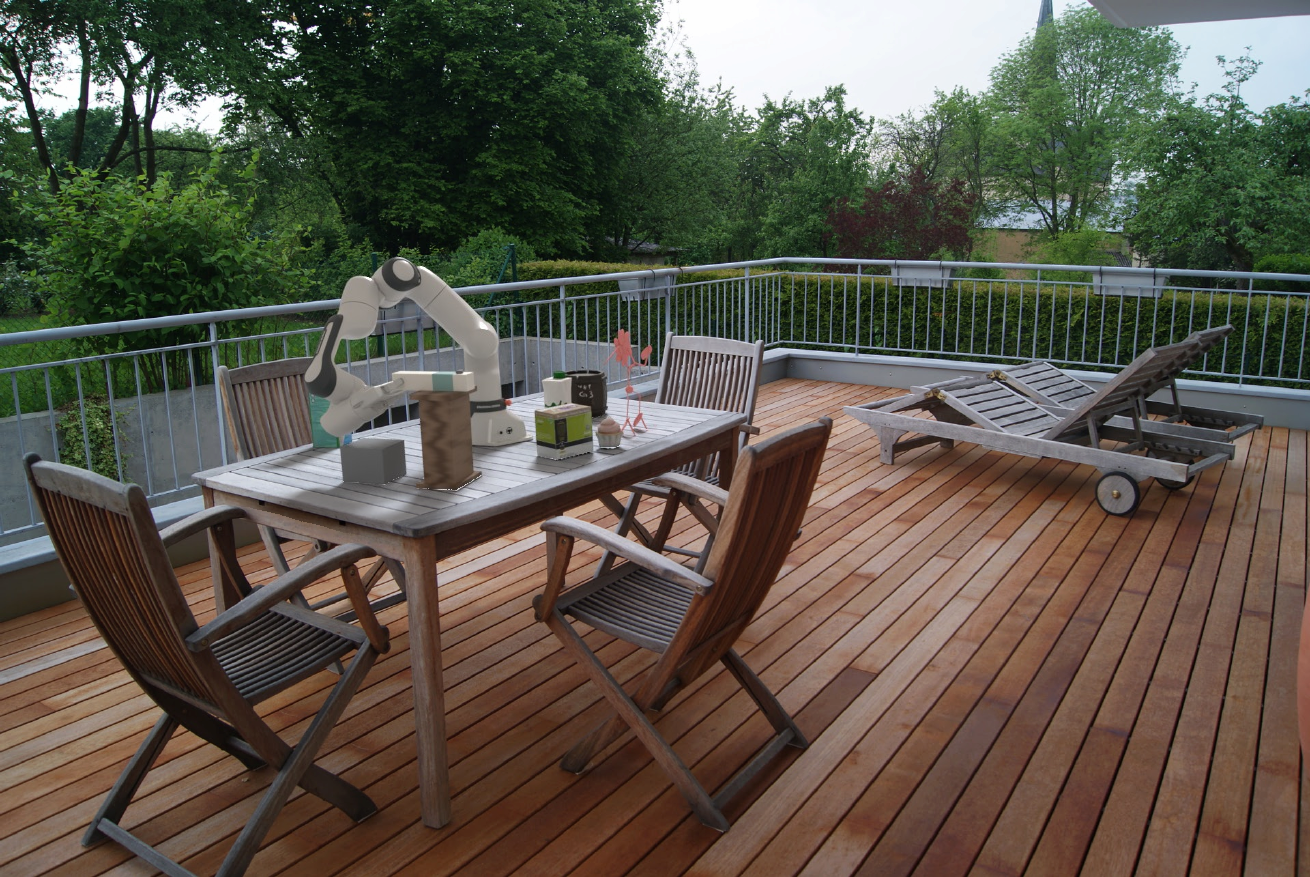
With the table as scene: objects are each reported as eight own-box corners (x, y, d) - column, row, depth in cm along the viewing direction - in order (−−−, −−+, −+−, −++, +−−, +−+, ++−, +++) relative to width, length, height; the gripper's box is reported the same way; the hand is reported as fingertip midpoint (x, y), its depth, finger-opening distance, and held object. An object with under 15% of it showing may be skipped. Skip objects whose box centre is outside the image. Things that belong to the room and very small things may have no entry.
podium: (343, 482, 264) (339, 447, 262) (366, 471, 275) (363, 437, 273) (384, 484, 261) (382, 449, 258) (406, 473, 272) (404, 439, 270)
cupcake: (618, 442, 307) (618, 412, 305) (628, 448, 299) (627, 417, 296) (591, 445, 304) (590, 414, 302) (599, 451, 295) (598, 420, 293)
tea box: (573, 447, 301) (571, 402, 298) (594, 452, 294) (592, 406, 291) (535, 456, 291) (533, 408, 288) (556, 461, 284) (554, 413, 281)
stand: (415, 488, 256) (409, 394, 250) (443, 474, 271) (437, 384, 266) (456, 491, 253) (450, 395, 247) (481, 476, 268) (476, 385, 263)
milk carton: (338, 447, 305) (331, 371, 300) (312, 447, 307) (305, 370, 301) (352, 441, 314) (346, 366, 308) (327, 440, 316) (320, 366, 310)
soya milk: (575, 428, 329) (573, 371, 325) (563, 434, 321) (561, 375, 317) (553, 426, 332) (551, 370, 328) (540, 432, 324) (538, 374, 320)
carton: (393, 390, 258) (391, 370, 257) (401, 387, 262) (399, 368, 261) (467, 391, 252) (465, 371, 251) (474, 388, 257) (473, 369, 255)
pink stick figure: (660, 425, 332) (656, 325, 324) (626, 441, 309) (621, 333, 302) (621, 423, 339) (617, 325, 331) (585, 438, 316) (580, 333, 308)
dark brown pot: (587, 407, 367) (586, 367, 363) (617, 413, 354) (616, 372, 350) (549, 414, 355) (548, 372, 351) (579, 421, 342) (577, 377, 338)
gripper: (343, 398, 253) (381, 374, 249) (383, 386, 272) (419, 363, 268) (355, 419, 253) (393, 395, 249) (394, 405, 273) (430, 382, 268)
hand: (407, 378), depth 259 cm, fingers closed on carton, 4 cm apart
